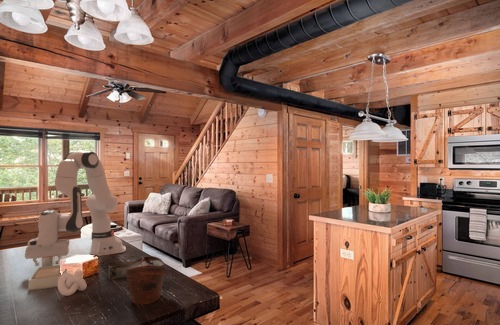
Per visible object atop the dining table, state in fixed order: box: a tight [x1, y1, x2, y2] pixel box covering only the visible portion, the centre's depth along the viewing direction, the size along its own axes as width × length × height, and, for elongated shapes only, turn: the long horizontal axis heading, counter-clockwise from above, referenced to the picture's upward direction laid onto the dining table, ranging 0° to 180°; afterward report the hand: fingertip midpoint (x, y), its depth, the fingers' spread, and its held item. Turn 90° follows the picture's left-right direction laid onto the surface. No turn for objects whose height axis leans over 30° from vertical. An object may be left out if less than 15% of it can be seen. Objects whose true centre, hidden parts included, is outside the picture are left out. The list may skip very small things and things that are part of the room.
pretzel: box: [57, 270, 88, 297], centre depth 141 cm, size 11×12×9 cm
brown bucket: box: [124, 255, 168, 306], centre depth 136 cm, size 18×20×18 cm
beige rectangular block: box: [36, 268, 60, 279], centre depth 148 cm, size 9×6×7 cm, turn 112°
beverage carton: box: [108, 260, 135, 280], centre depth 163 cm, size 8×19×7 cm, turn 118°
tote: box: [27, 264, 67, 291], centre depth 152 cm, size 14×18×5 cm
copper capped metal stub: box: [41, 256, 56, 267], centre depth 164 cm, size 5×5×9 cm
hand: (47, 264), depth 163 cm, fingers open, 8 cm apart
